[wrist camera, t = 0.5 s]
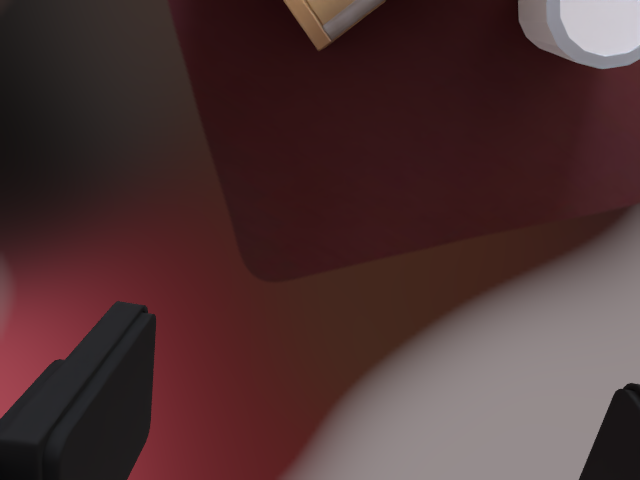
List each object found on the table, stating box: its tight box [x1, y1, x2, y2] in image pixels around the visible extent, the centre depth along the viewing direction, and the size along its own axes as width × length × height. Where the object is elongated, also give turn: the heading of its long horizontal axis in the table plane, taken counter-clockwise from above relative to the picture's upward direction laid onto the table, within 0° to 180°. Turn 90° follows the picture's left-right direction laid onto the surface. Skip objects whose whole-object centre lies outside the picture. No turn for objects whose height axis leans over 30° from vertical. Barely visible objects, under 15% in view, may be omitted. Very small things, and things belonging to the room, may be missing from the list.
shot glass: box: [518, 0, 640, 69], centre depth 30 cm, size 7×7×7 cm
